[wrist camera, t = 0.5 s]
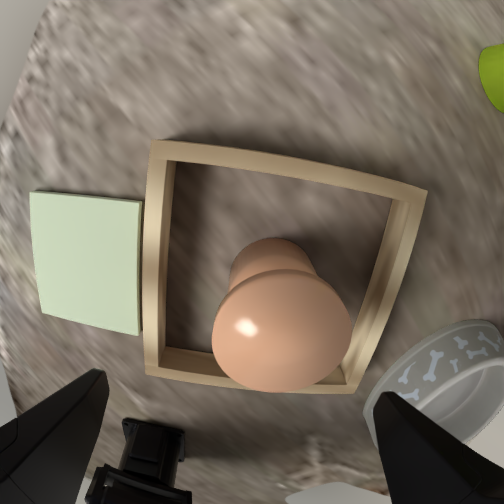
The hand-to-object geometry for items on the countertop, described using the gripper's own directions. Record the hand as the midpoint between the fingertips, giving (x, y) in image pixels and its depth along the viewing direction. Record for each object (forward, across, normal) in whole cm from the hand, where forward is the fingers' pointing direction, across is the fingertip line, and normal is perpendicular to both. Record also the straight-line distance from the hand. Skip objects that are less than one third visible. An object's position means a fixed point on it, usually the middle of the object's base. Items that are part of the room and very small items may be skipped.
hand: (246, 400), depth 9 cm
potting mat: (+12, +12, +2) cm, 17 cm away
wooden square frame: (+12, -2, +1) cm, 12 cm away
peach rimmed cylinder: (+12, -2, +1) cm, 12 cm away
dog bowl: (+13, -22, +13) cm, 28 cm away
